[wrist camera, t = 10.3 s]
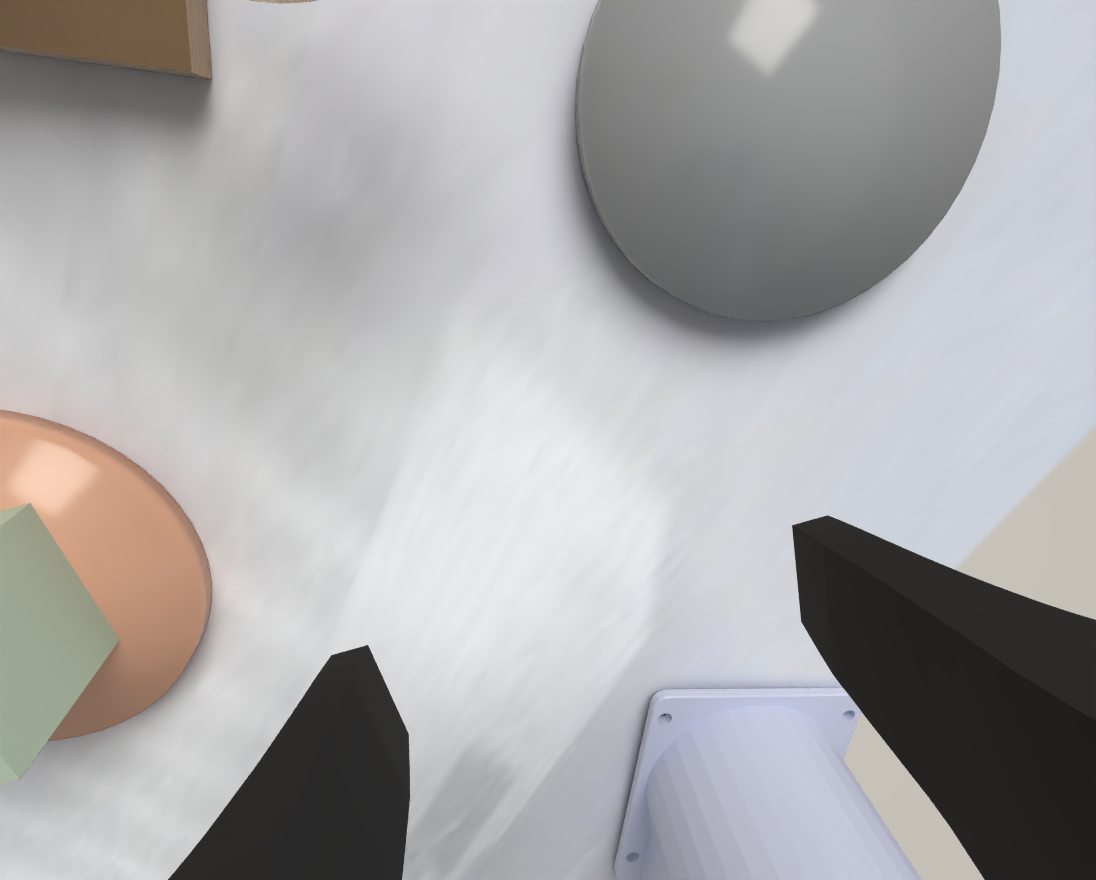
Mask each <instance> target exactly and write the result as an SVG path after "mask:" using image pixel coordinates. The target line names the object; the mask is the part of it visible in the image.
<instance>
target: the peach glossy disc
mask: <svg viewBox="0 0 1096 880" xmlns="http://www.w3.org/2000/svg"><path fill="white" fill-rule="evenodd" d="M27 503H31V505H32V506H33V508H34V509H35V511H36V512H37V514H38V516H39V517H40V519H41V520H42V522H43V523H44V525H45V526H46V528H47V529H48V531H49V532H50V534H51V535H52V537H53V539H54V540H55V542H56V543H57V545H58V546H59V548H60V549H61V551H62V552H63V554H64V555H65V557H66V558H67V560H68V562H69V563H70V565H71V566H72V568H73V569H74V571H75V572H76V574H77V575H78V577H79V578H80V580H81V582H82V583H83V585H84V586H85V588H86V589H87V591H88V592H89V594H90V595H91V597H92V598H93V600H94V601H95V603H96V605H97V606H98V608H99V609H100V611H101V612H102V614H103V615H104V617H105V618H106V620H107V621H108V623H109V624H110V626H111V628H112V629H113V631H114V632H115V634H116V635H117V637H118V638H119V641H118V643H117V644H116V646H115V647H114V648H113V650H112V651H111V653H110V654H109V655H108V657H107V658H106V660H105V661H104V662H103V664H102V665H101V667H100V668H99V669H98V671H97V672H96V674H95V675H94V676H93V678H92V679H91V681H90V682H89V683H88V685H87V686H86V688H85V689H84V690H83V692H82V693H81V695H80V696H79V697H78V699H77V700H76V702H75V703H74V704H73V706H72V707H71V709H70V710H69V711H68V713H67V714H66V716H65V717H64V718H63V720H62V721H61V723H60V724H59V725H58V727H57V728H56V730H55V731H54V732H53V734H52V735H51V737H50V738H49V739H48V741H50V740H59V739H65V738H72V737H78V736H82V735H86V734H89V733H93V732H97V731H101V730H103V729H106V728H109V727H111V726H114V725H116V724H119V723H121V722H123V721H125V720H127V719H129V718H131V717H133V716H135V715H137V714H139V713H140V712H142V711H143V710H145V709H146V708H147V707H149V706H150V705H152V704H153V703H154V702H156V701H157V700H158V699H159V698H160V697H161V696H162V695H163V694H164V693H166V692H167V691H168V690H169V689H170V688H171V686H172V685H173V684H174V683H175V681H176V680H177V679H178V678H179V676H180V675H181V674H182V672H183V670H184V668H185V667H186V665H187V663H188V661H189V659H190V657H191V656H192V654H193V652H194V650H195V648H196V646H197V644H198V643H199V641H200V639H201V637H202V635H203V633H204V630H205V627H206V624H207V621H208V618H209V613H210V607H211V601H212V582H211V575H210V570H209V564H208V560H207V557H206V554H205V551H204V548H203V546H202V543H201V540H200V539H199V537H198V535H197V533H196V531H195V529H194V527H193V525H192V523H191V522H190V520H189V519H188V517H187V516H186V514H185V513H184V512H183V510H182V509H181V507H180V506H179V504H178V503H177V502H176V501H175V500H174V499H173V498H172V496H171V495H170V494H169V493H168V492H167V491H166V490H165V489H164V488H163V486H162V485H161V484H159V483H158V482H157V481H156V480H155V479H154V478H153V477H152V476H150V475H149V474H148V473H147V472H146V471H145V470H144V469H142V468H141V467H140V466H138V465H137V464H135V463H134V462H133V461H131V460H130V459H128V458H127V457H126V456H124V455H123V454H121V453H120V452H118V451H116V450H115V449H113V448H111V447H109V446H107V445H106V444H104V443H102V442H100V441H99V440H97V439H95V438H93V437H91V436H88V435H86V434H84V433H81V432H79V431H77V430H74V429H72V428H70V427H67V426H64V425H61V424H58V423H55V422H52V421H49V420H46V419H42V418H39V417H35V416H30V415H25V414H21V413H16V412H11V411H4V410H0V511H1V510H5V509H9V508H12V507H16V506H20V505H24V504H27Z"/></svg>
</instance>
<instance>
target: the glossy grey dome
mask: <svg viewBox="0 0 1096 880" xmlns="http://www.w3.org/2000/svg"><path fill="white" fill-rule="evenodd" d="M1000 52H1001V29H1000V10H999V4H998V0H599V1H598V3H597V6H596V8H595V10H594V13H593V15H592V18H591V21H590V25H589V28H588V32H587V35H586V38H585V42H584V45H583V49H582V55H581V60H580V66H579V72H578V78H577V90H576V108H575V116H576V133H577V145H578V151H579V156H580V162H581V167H582V172H583V175H584V179H585V182H586V185H587V188H588V192H589V195H590V198H591V200H592V203H593V205H594V207H595V209H596V211H597V214H598V216H599V218H600V220H601V222H602V224H603V226H604V227H605V229H606V230H607V232H608V234H609V235H610V237H611V239H612V240H613V242H614V243H615V245H616V246H617V247H618V248H619V250H620V251H621V252H622V253H623V255H624V256H625V257H626V258H627V259H628V261H629V262H630V263H631V264H632V265H633V266H634V267H635V268H636V269H638V270H639V271H640V272H641V273H642V274H643V275H644V276H645V277H646V278H647V279H648V280H650V281H651V282H653V283H654V284H656V285H657V286H659V287H660V288H662V289H663V290H665V291H666V292H668V293H669V294H671V295H673V296H674V297H676V298H678V299H680V300H681V301H684V302H686V303H688V304H690V305H692V306H694V307H696V308H698V309H700V310H703V311H706V312H709V313H712V314H715V315H719V316H722V317H726V318H732V319H738V320H744V321H779V320H788V319H795V318H799V317H803V316H807V315H811V314H815V313H819V312H822V311H824V310H827V309H830V308H832V307H835V306H837V305H840V304H842V303H844V302H846V301H848V300H850V299H852V298H854V297H856V296H858V295H859V294H861V293H863V292H865V291H867V290H868V289H869V288H871V287H872V286H874V285H875V284H877V283H878V282H880V281H881V280H883V279H884V278H886V277H887V276H888V275H889V274H891V273H892V272H893V271H894V270H895V269H896V268H898V267H899V266H900V265H901V264H902V263H904V262H905V261H906V260H907V259H908V258H909V257H910V256H911V255H912V254H913V253H914V252H915V251H916V250H917V249H918V248H919V247H920V246H921V244H922V243H923V242H924V241H925V240H926V239H927V238H928V237H929V236H930V234H931V233H932V232H933V230H934V229H935V228H936V227H937V225H938V224H939V223H940V221H941V220H942V219H943V218H944V216H945V215H946V213H947V212H948V210H949V209H950V207H951V205H952V204H953V202H954V201H955V199H956V197H957V196H958V194H959V193H960V191H961V189H962V187H963V185H964V183H965V181H966V179H967V177H968V175H969V173H970V171H971V169H972V167H973V165H974V163H975V161H976V158H977V156H978V153H979V150H980V148H981V145H982V143H983V140H984V137H985V135H986V131H987V128H988V124H989V120H990V117H991V113H992V110H993V106H994V101H995V95H996V89H997V83H998V77H999V67H1000Z"/></svg>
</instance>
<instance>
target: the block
mask: <svg viewBox="0 0 1096 880" xmlns="http://www.w3.org/2000/svg"><path fill="white" fill-rule="evenodd" d="M118 641H119V638H118V637H117V635H116V634H115V632H114V631H113V629H112V628H111V626H110V624H109V623H108V621H107V620H106V618H105V617H104V615H103V614H102V612H101V611H100V609H99V608H98V606H97V605H96V603H95V601H94V600H93V598H92V597H91V595H90V594H89V592H88V591H87V589H86V588H85V586H84V585H83V583H82V582H81V580H80V578H79V577H78V575H77V574H76V572H75V571H74V569H73V568H72V566H71V565H70V563H69V562H68V560H67V558H66V557H65V555H64V554H63V552H62V551H61V549H60V548H59V546H58V545H57V543H56V542H55V540H54V539H53V537H52V535H51V534H50V532H49V531H48V529H47V528H46V526H45V525H44V523H43V522H42V520H41V519H40V517H39V516H38V514H37V512H36V511H35V509H34V508H33V506H32V505H31V503H27V504H24V505H20V506H16V507H12V508H9V509H5V510H1V511H0V785H2V784H6V783H9V782H13V781H17V780H20V779H21V777H22V776H23V774H24V773H25V772H26V770H27V769H28V767H29V766H30V765H31V763H32V762H33V760H34V759H35V758H36V756H37V755H38V753H39V752H40V751H41V749H42V748H43V746H44V745H45V744H46V742H47V741H48V739H49V738H50V737H51V735H52V734H53V732H54V731H55V730H56V728H57V727H58V725H59V724H60V723H61V721H62V720H63V718H64V717H65V716H66V714H67V713H68V711H69V710H70V709H71V707H72V706H73V704H74V703H75V702H76V700H77V699H78V697H79V696H80V695H81V693H82V692H83V690H84V689H85V688H86V686H87V685H88V683H89V682H90V681H91V679H92V678H93V676H94V675H95V674H96V672H97V671H98V669H99V668H100V667H101V665H102V664H103V662H104V661H105V660H106V658H107V657H108V655H109V654H110V653H111V651H112V650H113V648H114V647H115V646H116V644H117V643H118Z"/></svg>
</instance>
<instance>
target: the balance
mask: <svg viewBox="0 0 1096 880" xmlns="http://www.w3.org/2000/svg"><path fill="white" fill-rule="evenodd" d="M250 1H258V2H270V3H282V4H283V3H298V2H311V1H316V0H250ZM0 51H5V52H13V53H20V54H27V55H35V56H42V57H50V58H57V59H64V60H72V61H79V62H87V63H94V64H101V65H109V66H116V67H124V68H131V69H138V70H146V71H153V72H161V73H168V74H175V75H183V76H190V77H198V78H205V79H212V72H211V58H210V44H209V31H208V17H207V3H206V0H0Z"/></svg>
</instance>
